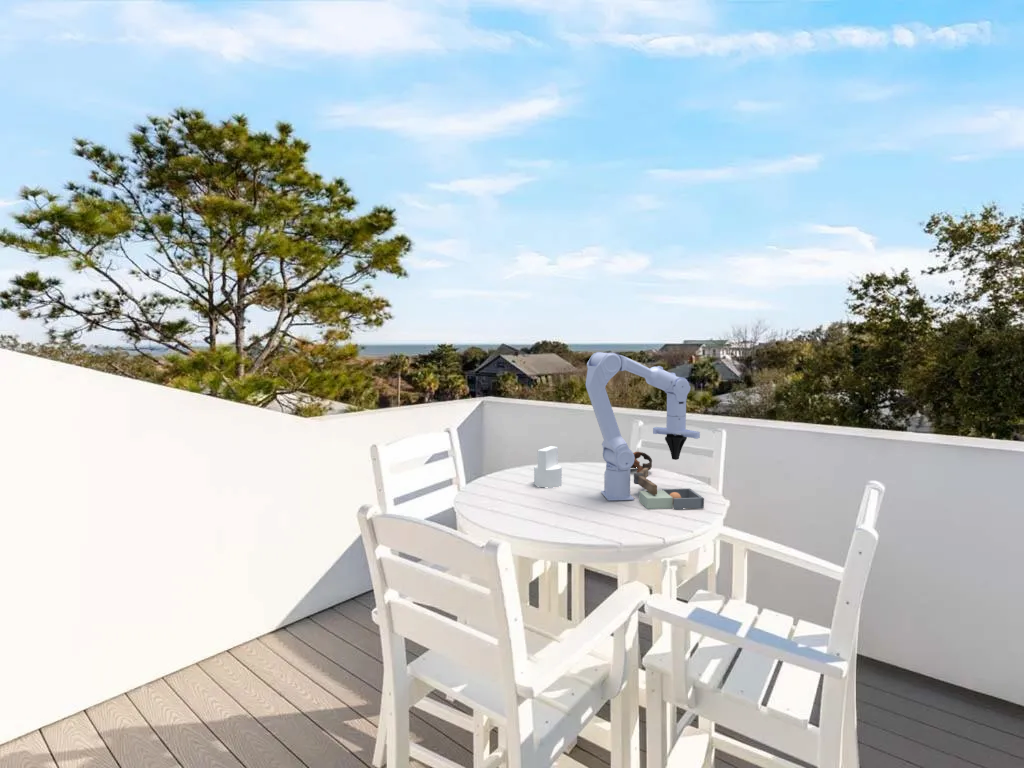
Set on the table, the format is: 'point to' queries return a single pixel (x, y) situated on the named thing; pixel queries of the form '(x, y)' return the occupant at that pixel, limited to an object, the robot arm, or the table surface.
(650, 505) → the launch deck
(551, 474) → the base with upright slab
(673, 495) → the ball
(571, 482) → the table surface
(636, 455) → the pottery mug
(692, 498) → the tray
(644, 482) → the flipper lever
